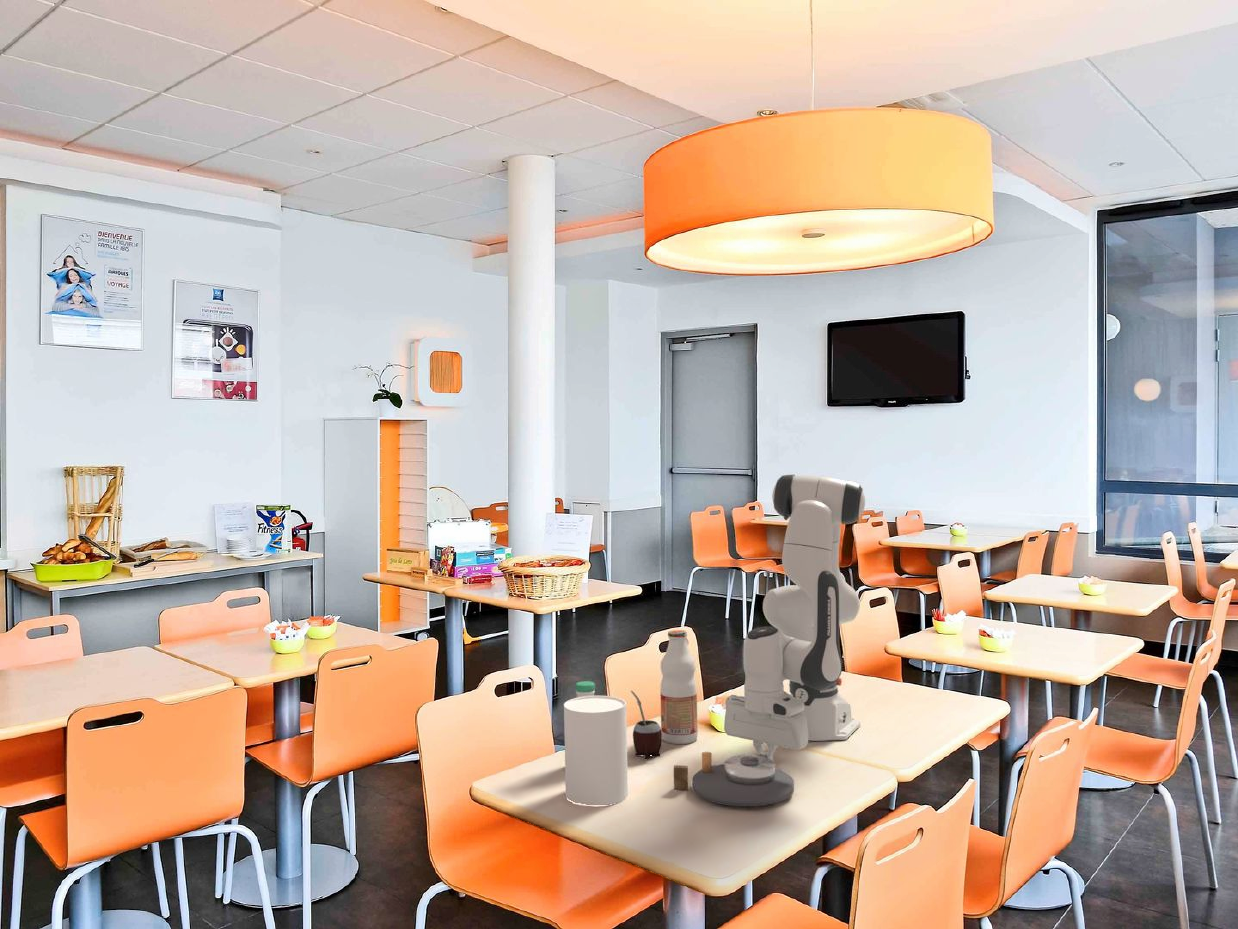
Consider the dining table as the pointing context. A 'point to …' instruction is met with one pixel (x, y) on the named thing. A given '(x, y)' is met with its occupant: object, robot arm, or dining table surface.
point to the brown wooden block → (680, 778)
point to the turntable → (738, 786)
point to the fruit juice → (678, 692)
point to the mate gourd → (646, 736)
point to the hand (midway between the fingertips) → (765, 761)
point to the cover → (749, 770)
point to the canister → (596, 750)
